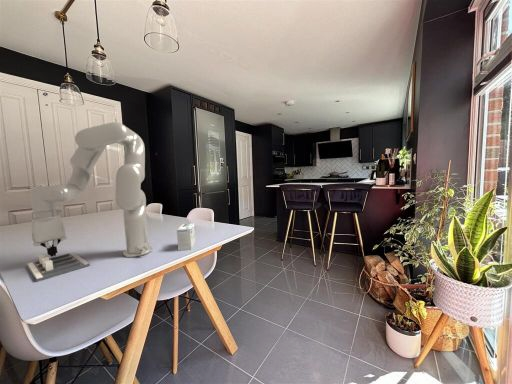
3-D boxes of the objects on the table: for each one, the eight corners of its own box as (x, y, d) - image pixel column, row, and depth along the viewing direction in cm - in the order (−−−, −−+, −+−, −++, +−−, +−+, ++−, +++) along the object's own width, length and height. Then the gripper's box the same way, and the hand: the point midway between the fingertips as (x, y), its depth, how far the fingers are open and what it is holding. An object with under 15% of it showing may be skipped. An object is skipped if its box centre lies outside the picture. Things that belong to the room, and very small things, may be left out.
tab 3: (53, 269, 86) (52, 261, 85) (46, 271, 84) (45, 263, 84) (52, 268, 87) (51, 259, 87) (45, 270, 86) (44, 261, 85)
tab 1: (47, 262, 93) (46, 255, 93) (40, 264, 91) (39, 256, 91) (46, 261, 94) (44, 253, 94) (39, 263, 93) (38, 255, 92)
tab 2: (50, 266, 89) (49, 258, 89) (43, 267, 88) (42, 259, 87) (49, 264, 91) (47, 256, 90) (42, 266, 89) (41, 258, 89)
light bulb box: (183, 243, 116) (181, 224, 115) (196, 242, 116) (194, 223, 115) (177, 250, 105) (176, 229, 104) (191, 249, 106) (190, 228, 105)
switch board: (89, 265, 91) (89, 261, 91) (36, 281, 79) (35, 277, 78) (73, 254, 106) (73, 250, 106) (26, 266, 93) (26, 262, 93)
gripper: (66, 210, 101) (72, 248, 103) (19, 217, 89) (27, 260, 91) (70, 212, 97) (76, 251, 99) (21, 219, 85) (30, 263, 87)
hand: (53, 255), depth 95 cm, fingers closed
